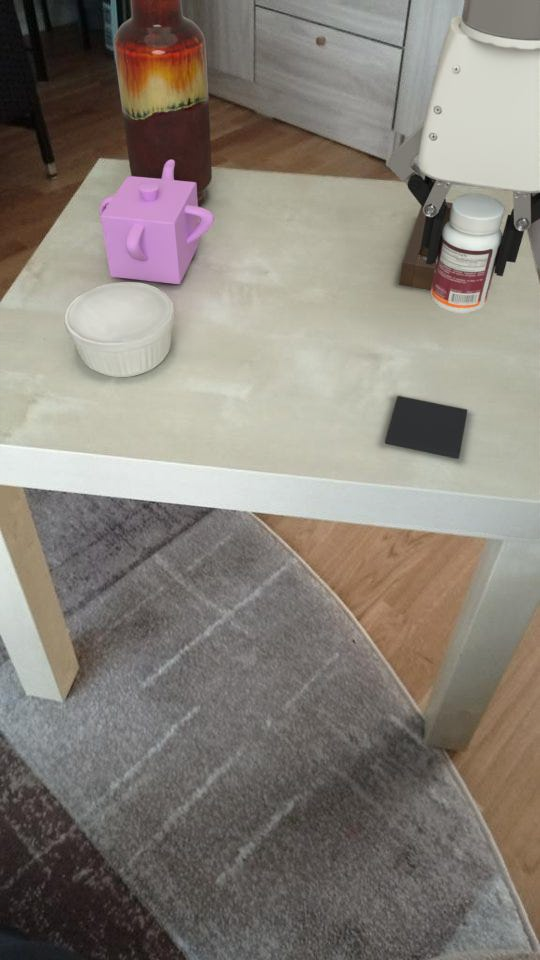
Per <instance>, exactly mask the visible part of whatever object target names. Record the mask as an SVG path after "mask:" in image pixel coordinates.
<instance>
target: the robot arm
mask: <svg viewBox="0 0 540 960" xmlns="http://www.w3.org/2000/svg"><path fill="white" fill-rule="evenodd" d="M429 93H430V94H429V98H428V101H427V102H428V103H427V106H426V111H425V117H424V121H423V122H422V123H421V124H420V125H419V126H418V127H417V128H416V129H415V130H414V131H413V132H412V133H411V134H410V135H409V136H408V137H407V138H406V139H405V140H404V141H403V142H402V143H401V144H400V145H399V146H398V147H397V148H396V149H395V150H394V151H393V152H392V154H391V155H390V158H389V160H388V162H387V163H388V164H387V165H388V168H389V169H390V170H391V171H392V172H393V173H394V174H395V175H396V176H397V177H398V179H399V180H400V181H402V182H403V183H404V184H406V186H407V189H408V191H410V193H411V194H412V196H413V197H414V198H415V199H416V201H417V202H418V203H419V205H420V207H421V206H422V207H423V213H424V214H425V216H426V219H425V225H424V231H423V236H422V242H421V248H426V249H428V255H427V256H426V259H425V260H426V264H430V265H432V264H433V263H435V262H436V261H437V255H438V250H439V244H440V239H441V233H442V230H443V227H444V223H445V218H446V213H447V208H448V205H446V202H447V199H446V198H447V195H448V194H449V191H450V189H451V187H452V186H453V184H458V185H466V186H472V187H479V188H485V189H493V190H494V189H495V190H501V191H508V192H512V200H513V201H512V202H513V203H512V205H513V208H512V210H511V212H510V213H509V214H507V216H506V221H505V225H504V228H503V232H502V243H501V247H500V250H499V254H498V258H497V262H496V265H495V269H494V273H493V274H495V275H496V276H499V277H504V273H505V269H506V265H507V262H509V263H514V264H515V263H516V261H517V258H518V254H519V252H520V248H521V243H522V241H523V238H524V233H525V231H527V230H529V229H530V227H531V225H532V224H533V223H535V222H537V221H539V220H540V0H464V1H463V7H462V12H461V14H459V15H456V16H454V17H452V18H451V20H450V21H449V25H448V28H447V31H446V33H445V36H444V38H443V41H442V46H441V49H440V53H439V55H438V59H437V64H436V68H435V71H434V75H433V81H432V85H431V89H430V92H429ZM417 156H418V162H415V161H416V160H415V158H417ZM534 194H535V195H534Z"/></svg>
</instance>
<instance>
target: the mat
mask: <svg viewBox="0 0 540 960" xmlns="http://www.w3.org/2000/svg"><path fill="white" fill-rule="evenodd" d="M467 414H468V409H466V408H461V407H458V406H457V407H456V406H451V405H446V404H441V403H437V402H431V401H426V400H423V399H422V400H421V399H415V398H411V397H407V396H402V395H397V397H396V401H395V405H394V409H393V412H392V416H391V419H390V423H389V427H388V431H387V434H386V437H385V442H384V443H385V444H387V445H392V446H395V447H401V448H405V449H409V450H410V449H411V450H413V451H414V450H415V451H420V452H424V453H429V454H433V455H437V456H442V457H448V458H451V459H459V458H460V454H461V449H462V443H463V437H464V432H465V426H466V421H467Z"/></svg>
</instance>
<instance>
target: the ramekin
mask: <svg viewBox="0 0 540 960" xmlns="http://www.w3.org/2000/svg"><path fill="white" fill-rule="evenodd" d="M63 315H64V316H63V324H64V327H65V331H66V333H67V335H68V336H69V337H70V339H71V340H72V342H73V344H74V347H75V348H76V351H77V352H78V355H79V357H80V358H81V360H82V361H83V363H84V364H85V365H86V366H87V367H88V368H90V369H91V370H93V371H94V372H96V373H98V374H101V375H104V376H107V377H111V378H130V377H136V376H139V375H143V374H145V373H147V372H149V371H151V370H153V369H155V368H156V367H158V366H159V365H160V364H161V363H162V362H163V360H165V358H166V357H167V356H168V354H169V352H170V350H171V345H172V336H173V325H174V321H175V318H176V312H175V304H174V302H173V300H172V298H171V297H170V296H169V295H168V294H167V293H165V292H164V291H163V290H162V289H159V288H157V287H156V286H154V285H150V284H148V283H143V282H137V281H136V282H135V281H117V282H111V283H110V282H109V283H105V284H102V285H99V286H94V287H93V288H90V289H88V290H85V291H84V292H82V293H81V294H79V295H78V296H76V297H75V298H74V299H73V300H72V301H71V302H70V303H69V305H68V306H67V308H66V310H65V311H64V314H63Z"/></svg>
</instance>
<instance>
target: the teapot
mask: <svg viewBox="0 0 540 960" xmlns="http://www.w3.org/2000/svg"><path fill="white" fill-rule="evenodd" d="M174 166H175V161H174V160H168V161H167V162H166V163H165V165H164V169H163V173H162V178H161V179H156V178H145V177H134V176H131V175H127V176H126V178H125V179H124V180H123V182H122V184H120V187H119V188H118V190H117V191H116V192H115V193H114V194H110V195H107V196H106V197H105V198H103V199H102V201H101V202H100V204H99V207H98V213H99V216H100V221H101V228H102V233H103V238H104V240H103V241H104V245H105V246H104V247H105V251H106V257H107V264H108V270H109V275H110V277H112V278H120V279H129V280H137V281H138V280H139V281H147V282H155V283H165V284H175V285H181V283H182V282H183V279H184V276H185V275H186V272H187V270H188V269H189V266H190V265H191V262H192V259H194V258H193V257H194V256H195V253H196V251H197V249H198V247H199V245H200V243H201V237H202V236H203V235H204V234H206V233H207V232H208V231H209V230H210V229H211V228H212V226H213V224H214V222H215V216H214V213H213V212H211V210H208V209H207V208H204V207H201V206H198V200H197V185H196V182H187V181H177V180H174Z"/></svg>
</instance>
